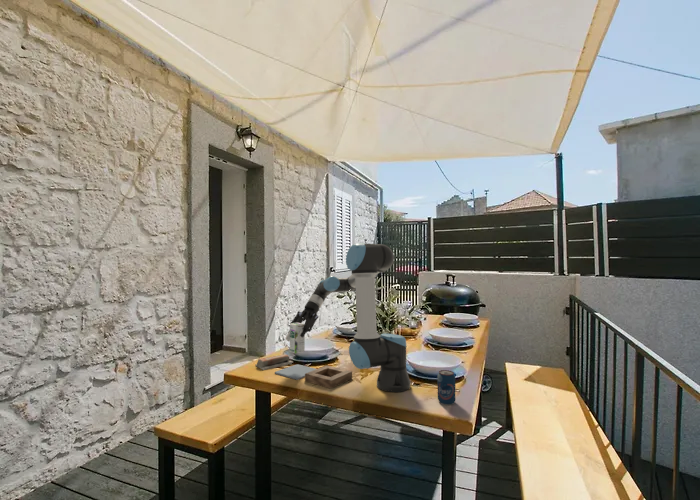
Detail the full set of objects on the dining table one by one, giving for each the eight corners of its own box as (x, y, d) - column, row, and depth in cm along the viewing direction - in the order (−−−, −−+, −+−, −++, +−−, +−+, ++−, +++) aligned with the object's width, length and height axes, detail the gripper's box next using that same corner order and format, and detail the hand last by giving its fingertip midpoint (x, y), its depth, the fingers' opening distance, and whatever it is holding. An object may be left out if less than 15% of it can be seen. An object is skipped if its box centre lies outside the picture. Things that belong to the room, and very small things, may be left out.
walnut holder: (352, 378, 168) (352, 371, 168) (331, 388, 155) (331, 380, 155) (326, 372, 178) (326, 365, 178) (305, 381, 165) (305, 373, 165)
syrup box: (289, 351, 178) (289, 323, 179) (298, 349, 183) (298, 322, 183) (295, 354, 174) (295, 325, 175) (305, 351, 179) (305, 323, 179)
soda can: (438, 405, 138) (438, 374, 138) (436, 398, 145) (436, 369, 145) (456, 406, 137) (456, 375, 137) (454, 399, 143) (453, 369, 144)
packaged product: (263, 361, 181) (255, 357, 189) (263, 371, 181) (255, 366, 189) (293, 355, 193) (284, 351, 200) (293, 364, 193) (284, 360, 200)
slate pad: (319, 371, 179) (319, 369, 179) (297, 380, 166) (297, 378, 166) (297, 365, 189) (297, 364, 189) (274, 373, 176) (274, 371, 176)
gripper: (330, 310, 186) (309, 348, 172) (304, 307, 197) (282, 342, 183) (324, 301, 181) (302, 339, 168) (297, 299, 193) (275, 334, 179)
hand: (292, 340), depth 176 cm, fingers closed on syrup box, 6 cm apart
